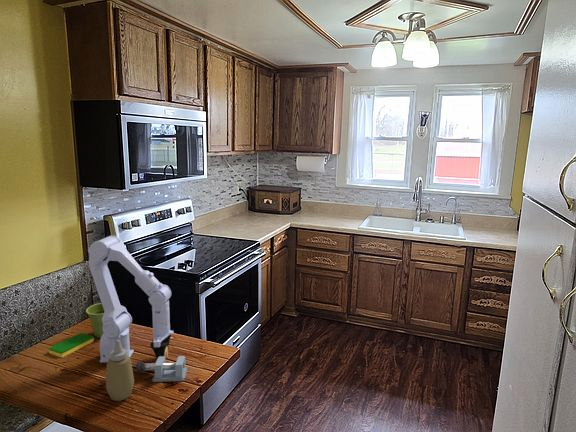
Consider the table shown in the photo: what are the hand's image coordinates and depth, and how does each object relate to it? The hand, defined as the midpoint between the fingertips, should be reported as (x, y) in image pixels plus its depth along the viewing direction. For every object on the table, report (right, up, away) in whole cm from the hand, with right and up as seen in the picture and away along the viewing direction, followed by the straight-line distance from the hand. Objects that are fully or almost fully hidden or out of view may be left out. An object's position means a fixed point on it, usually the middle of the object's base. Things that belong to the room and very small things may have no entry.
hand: (162, 356), depth 141 cm
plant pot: (-30, +2, +19) cm, 35 cm away
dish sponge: (-37, 0, +8) cm, 38 cm away
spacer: (0, -2, 0) cm, 2 cm away
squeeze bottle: (-6, -5, -20) cm, 22 cm away
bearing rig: (+6, -3, -9) cm, 11 cm away
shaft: (+1, -2, -10) cm, 10 cm away
